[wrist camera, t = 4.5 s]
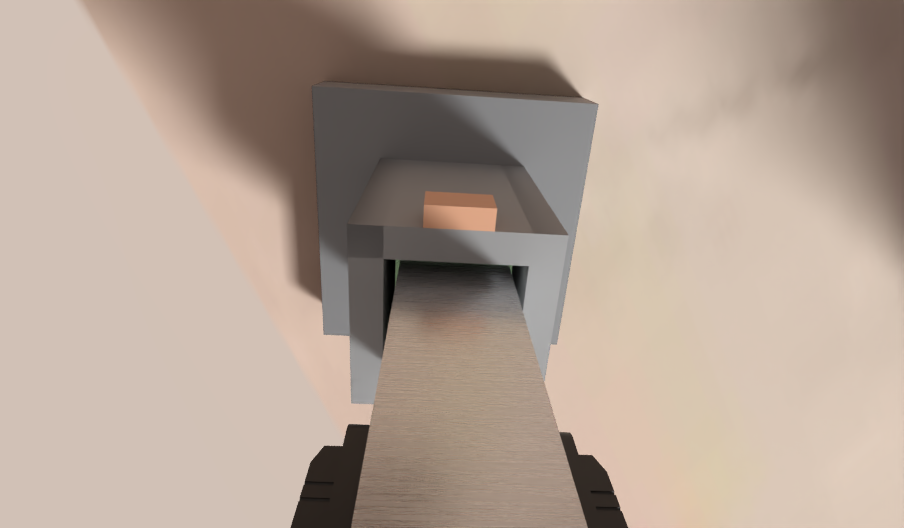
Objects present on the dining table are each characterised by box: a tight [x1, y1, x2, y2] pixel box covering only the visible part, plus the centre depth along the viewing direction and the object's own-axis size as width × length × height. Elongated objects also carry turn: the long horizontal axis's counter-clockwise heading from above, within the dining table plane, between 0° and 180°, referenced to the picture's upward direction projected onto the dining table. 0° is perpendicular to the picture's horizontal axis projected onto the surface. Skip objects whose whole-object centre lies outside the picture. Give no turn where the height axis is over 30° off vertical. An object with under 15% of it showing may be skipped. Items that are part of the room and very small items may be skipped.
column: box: [351, 260, 588, 528], centre depth 16 cm, size 4×4×20 cm
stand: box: [312, 81, 598, 404], centre depth 24 cm, size 14×14×13 cm
